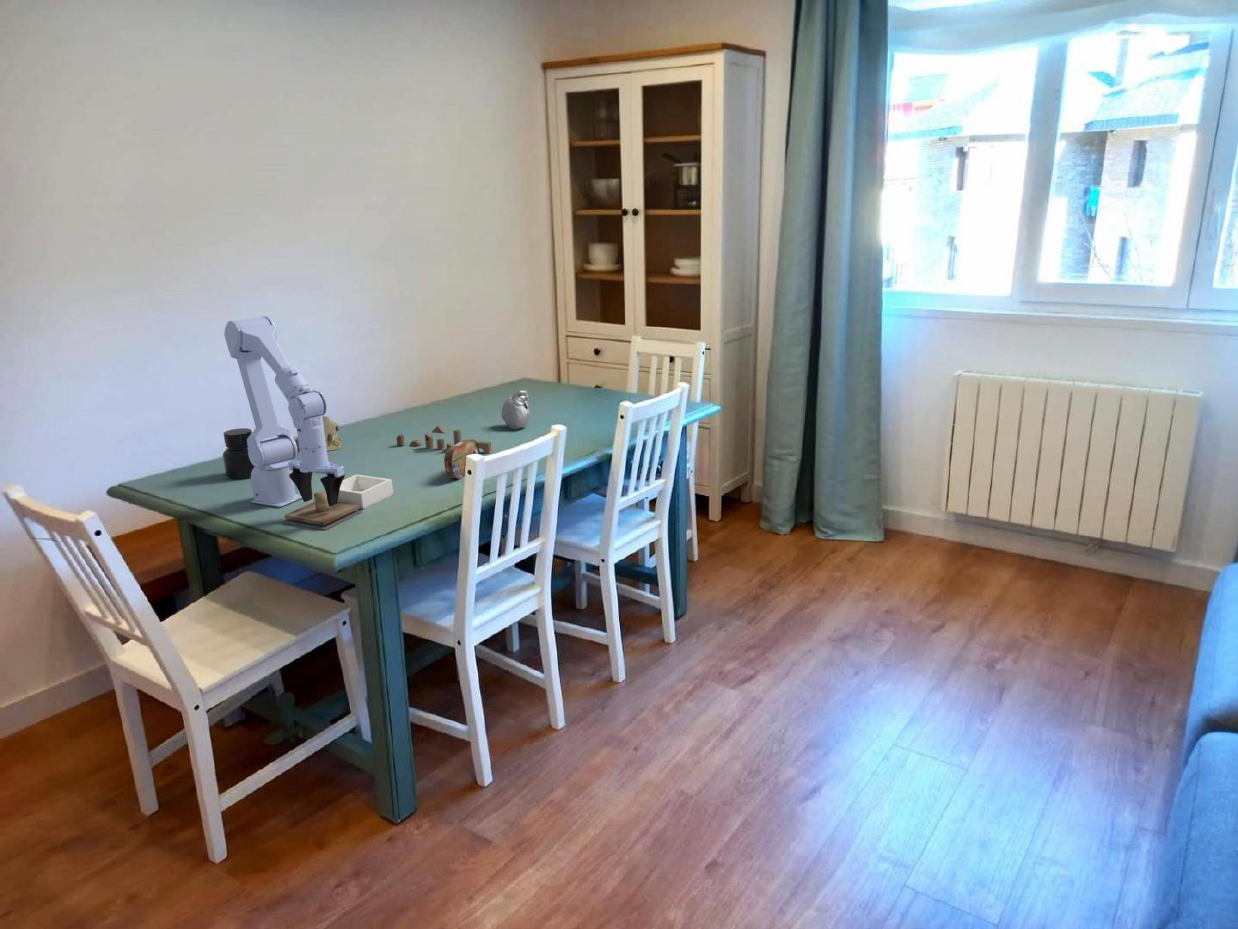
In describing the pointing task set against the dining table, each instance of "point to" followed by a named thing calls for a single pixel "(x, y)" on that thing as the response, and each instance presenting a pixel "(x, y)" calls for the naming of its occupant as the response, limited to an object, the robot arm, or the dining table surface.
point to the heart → (516, 410)
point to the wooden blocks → (440, 442)
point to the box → (365, 490)
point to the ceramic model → (329, 435)
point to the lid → (321, 511)
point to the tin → (459, 457)
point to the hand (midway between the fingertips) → (320, 502)
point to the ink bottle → (237, 454)
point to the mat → (323, 527)
